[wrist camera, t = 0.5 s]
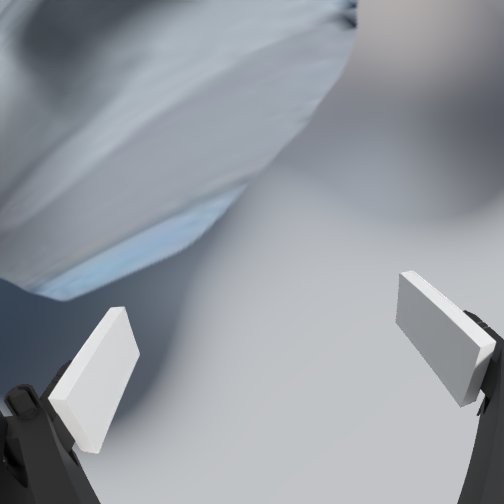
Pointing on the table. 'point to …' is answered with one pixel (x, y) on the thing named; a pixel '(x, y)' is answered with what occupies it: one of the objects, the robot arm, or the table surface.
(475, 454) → the robot arm
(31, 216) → the table surface
